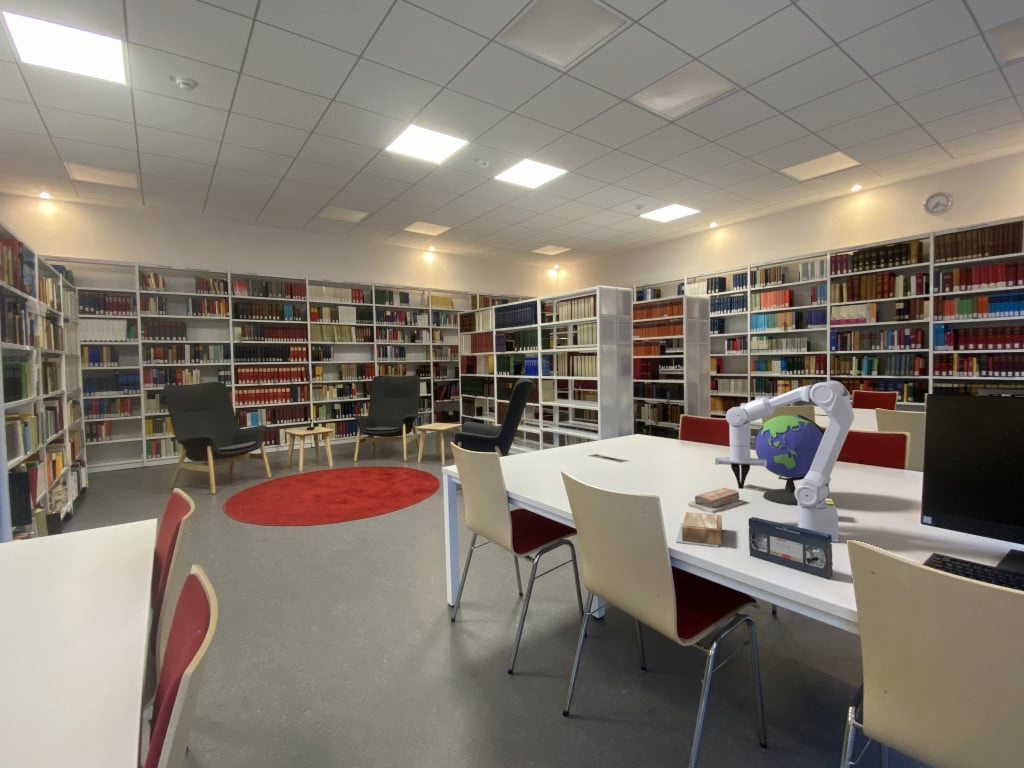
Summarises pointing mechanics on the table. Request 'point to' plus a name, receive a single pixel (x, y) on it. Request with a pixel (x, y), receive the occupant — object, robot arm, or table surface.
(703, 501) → the packaged product
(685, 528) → the tan wooden block
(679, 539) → the mat
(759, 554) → the vhs cassette tape
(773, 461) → the globe
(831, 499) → the rubik's cube
